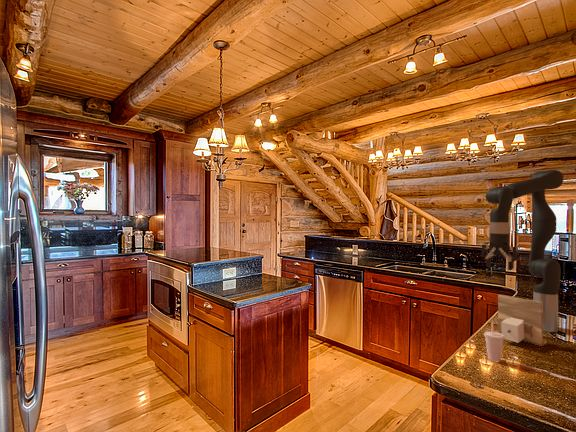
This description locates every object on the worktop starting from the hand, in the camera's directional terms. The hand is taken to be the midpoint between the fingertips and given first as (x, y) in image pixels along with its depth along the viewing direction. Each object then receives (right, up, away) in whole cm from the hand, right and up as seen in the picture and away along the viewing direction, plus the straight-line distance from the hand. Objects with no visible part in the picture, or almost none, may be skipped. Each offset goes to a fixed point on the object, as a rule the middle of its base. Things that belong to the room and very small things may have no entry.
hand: (499, 268), depth 144 cm
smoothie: (-18, -30, -24) cm, 42 cm away
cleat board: (+6, -30, -5) cm, 31 cm away
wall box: (0, -28, -8) cm, 29 cm away
